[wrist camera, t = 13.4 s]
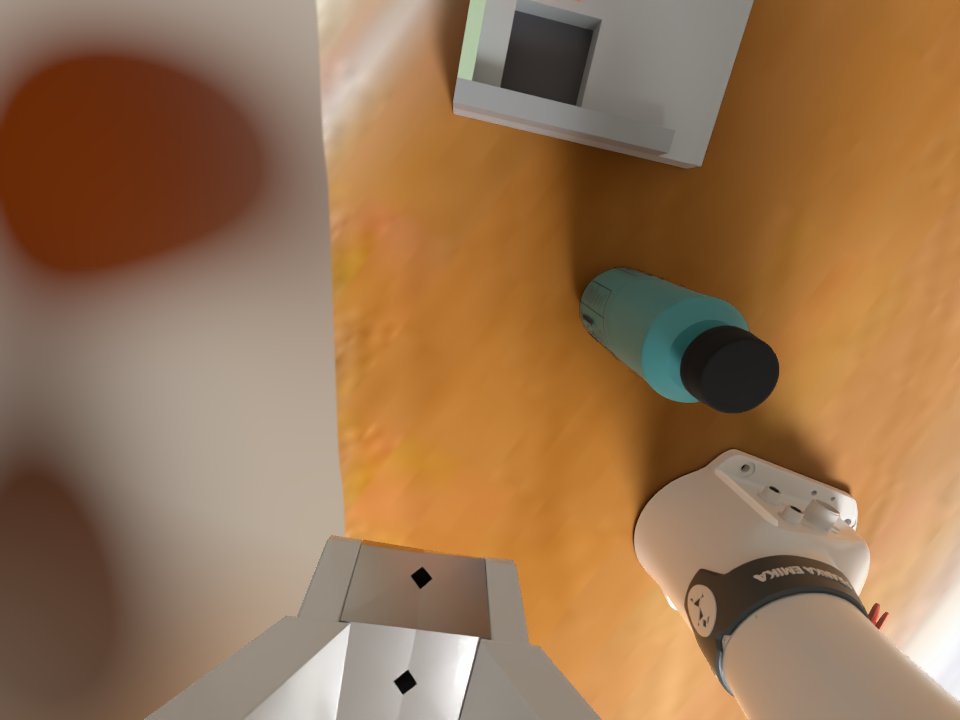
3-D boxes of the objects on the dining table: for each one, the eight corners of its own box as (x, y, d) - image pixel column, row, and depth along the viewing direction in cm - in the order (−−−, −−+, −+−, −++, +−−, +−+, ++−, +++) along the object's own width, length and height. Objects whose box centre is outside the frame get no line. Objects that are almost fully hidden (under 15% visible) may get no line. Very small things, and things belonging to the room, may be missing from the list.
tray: (755, -53, 34) (796, -90, 30) (686, 168, 38) (714, 164, 34) (494, -129, 32) (500, -179, 28) (453, 114, 37) (452, 101, 32)
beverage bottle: (557, 303, 41) (643, 385, 22) (614, 245, 40) (756, 280, 21) (607, 352, 43) (727, 468, 24) (664, 298, 42) (838, 375, 23)
